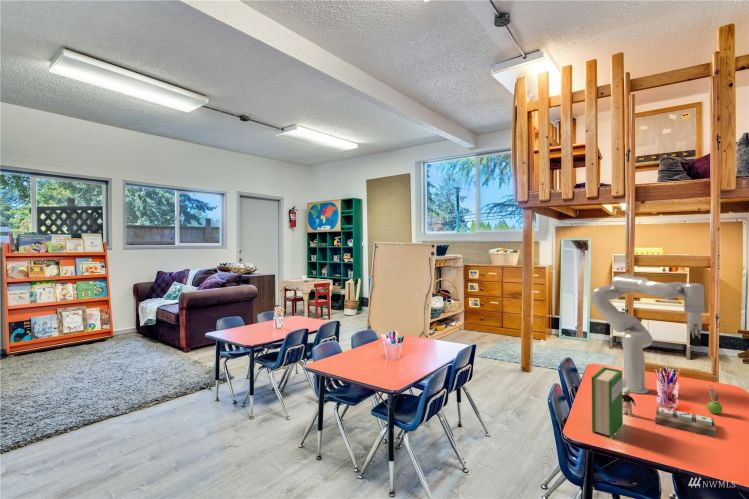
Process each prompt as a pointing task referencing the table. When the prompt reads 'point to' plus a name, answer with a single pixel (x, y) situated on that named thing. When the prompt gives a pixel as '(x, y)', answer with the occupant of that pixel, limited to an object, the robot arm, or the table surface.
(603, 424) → the hardback book
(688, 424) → the counting board
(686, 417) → the three dot tile
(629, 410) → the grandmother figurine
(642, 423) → the table surface
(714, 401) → the snail figurine
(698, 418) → the cream knobbed tile
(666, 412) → the two dot tile
